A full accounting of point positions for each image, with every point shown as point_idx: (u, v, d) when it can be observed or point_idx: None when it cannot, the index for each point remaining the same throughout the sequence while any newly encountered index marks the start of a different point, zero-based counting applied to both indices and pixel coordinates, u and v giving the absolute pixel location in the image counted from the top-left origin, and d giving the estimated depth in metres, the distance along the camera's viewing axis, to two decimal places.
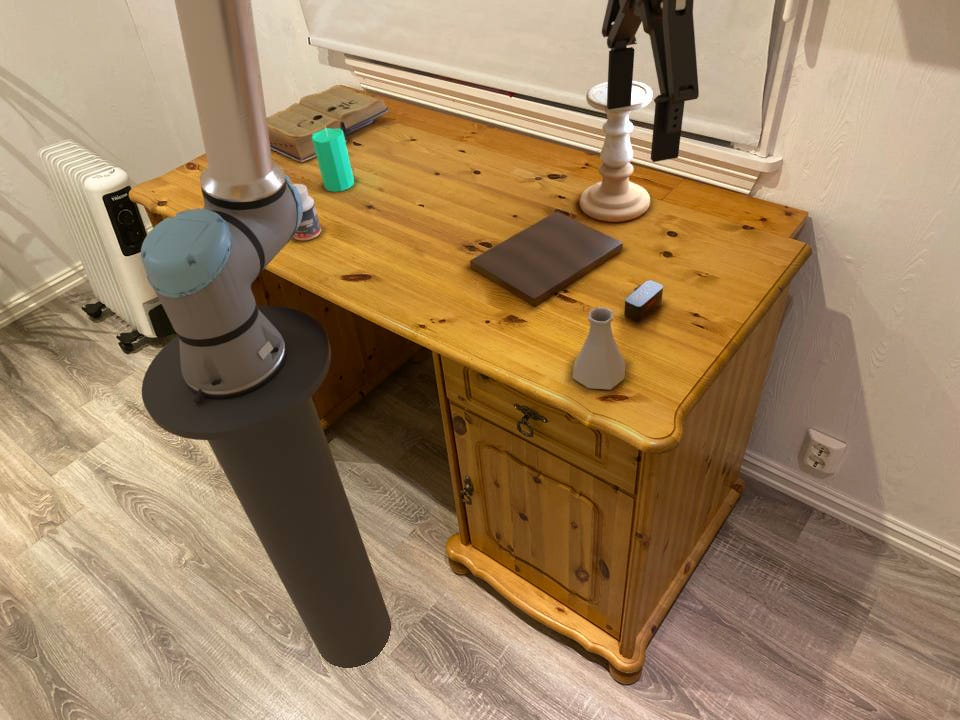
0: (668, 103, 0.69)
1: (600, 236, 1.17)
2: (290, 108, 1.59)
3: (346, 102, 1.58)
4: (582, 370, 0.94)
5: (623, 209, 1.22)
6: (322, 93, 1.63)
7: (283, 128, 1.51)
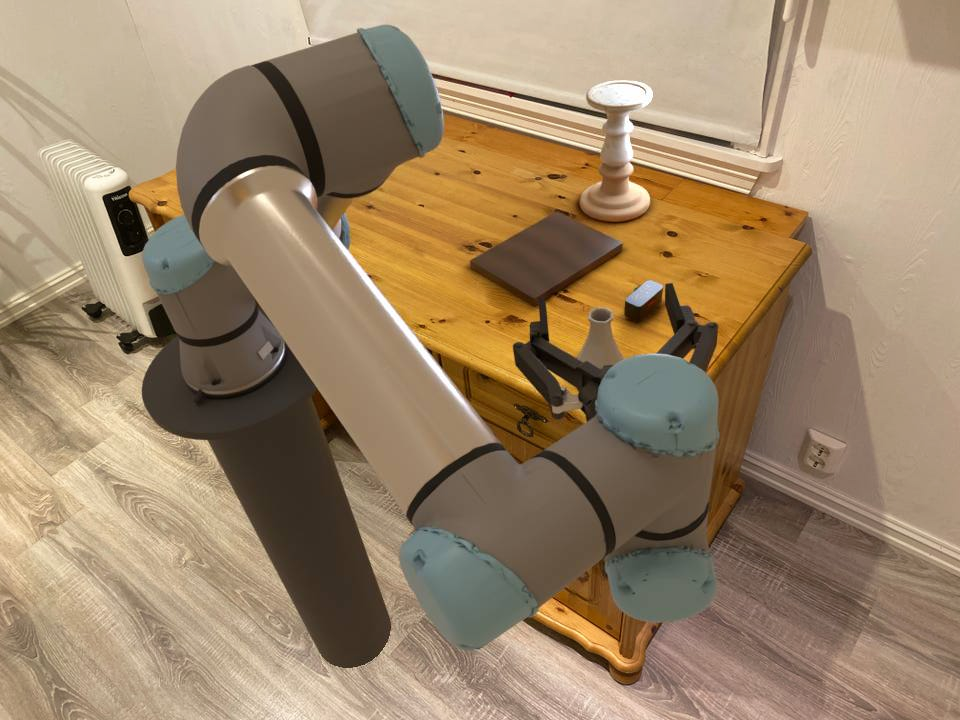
0: None
1: (600, 236, 1.17)
2: None
3: None
4: None
5: (623, 209, 1.22)
6: None
7: None
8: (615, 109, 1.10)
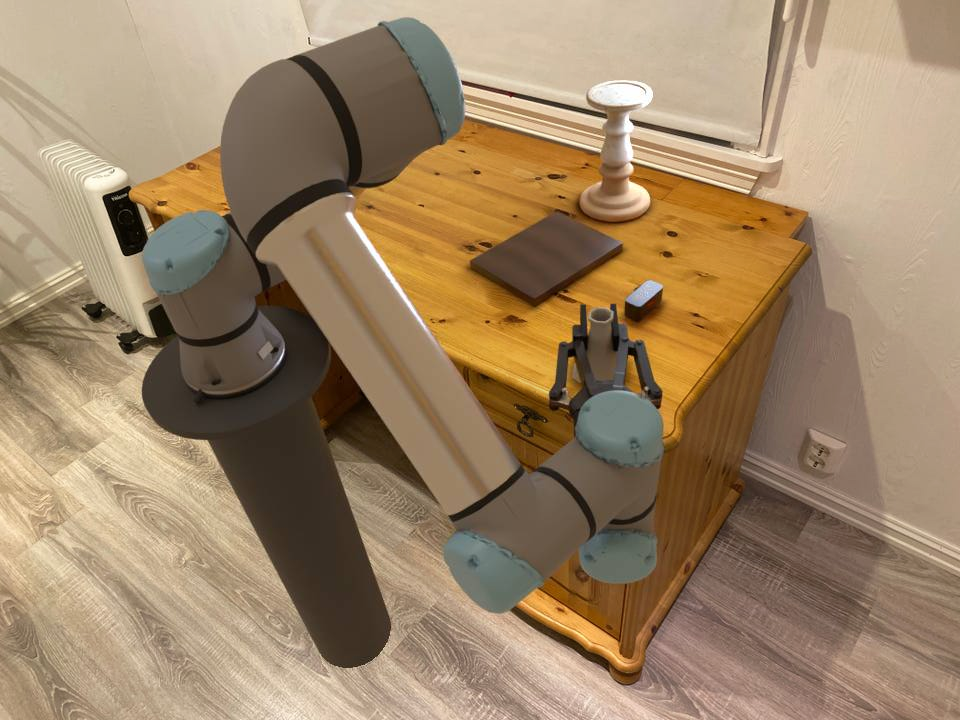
0: None
1: (600, 236, 1.17)
2: None
3: None
4: None
5: (623, 209, 1.22)
6: None
7: None
8: (615, 109, 1.10)
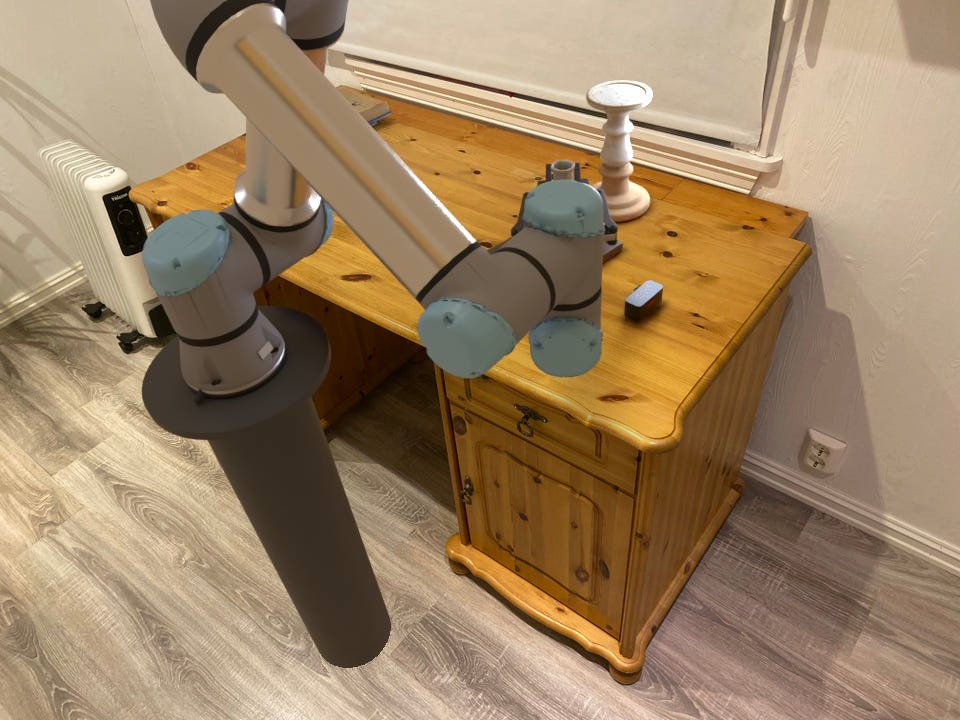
0: None
1: None
2: None
3: None
4: None
5: (623, 209, 1.22)
6: None
7: None
8: (615, 109, 1.10)
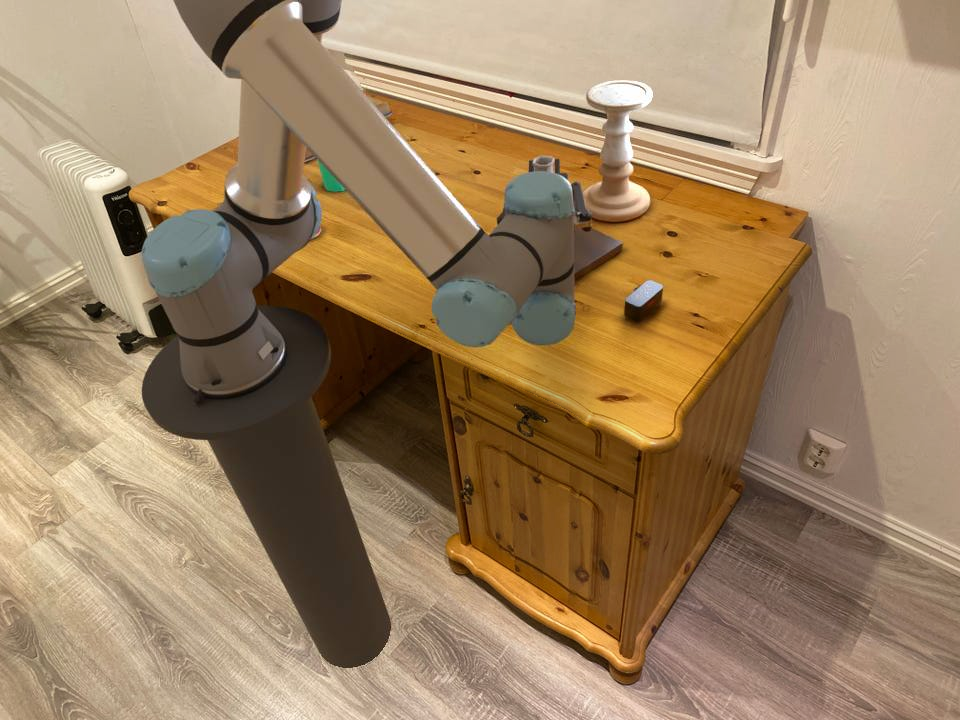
0: None
1: (600, 236, 1.17)
2: None
3: None
4: None
5: (623, 209, 1.22)
6: None
7: None
8: (615, 109, 1.10)
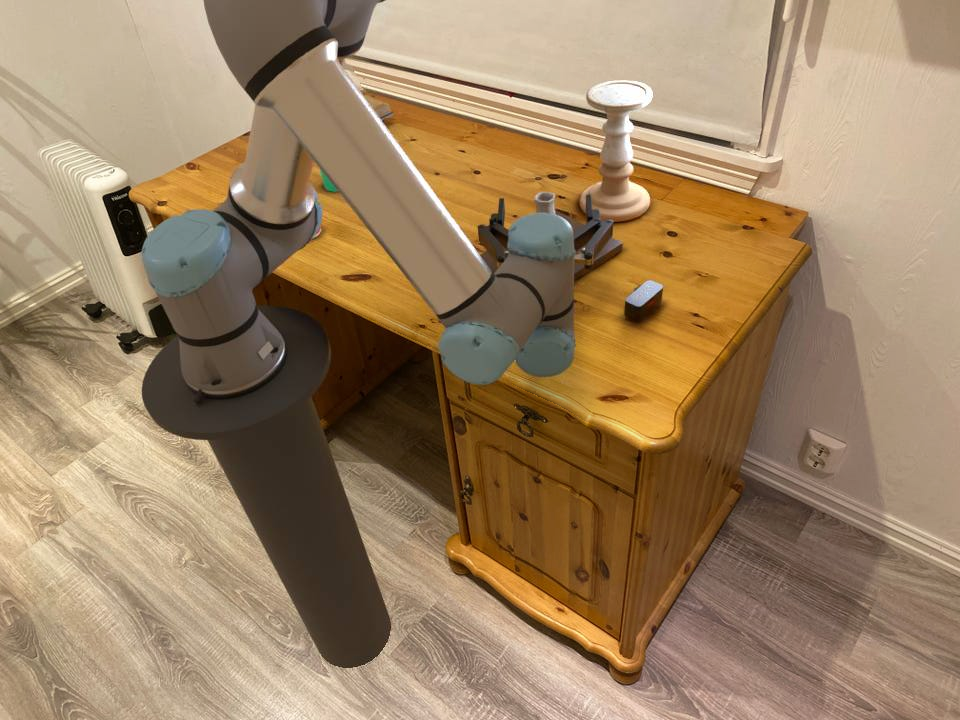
0: None
1: None
2: None
3: None
4: None
5: (623, 209, 1.22)
6: None
7: None
8: (615, 109, 1.10)
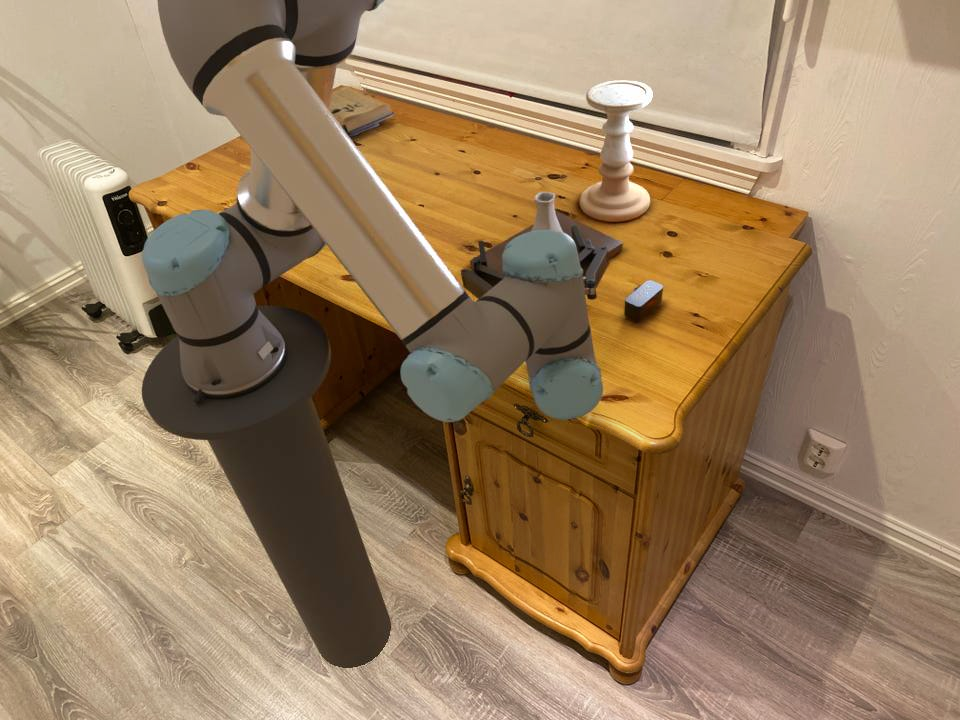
0: None
1: (600, 236, 1.17)
2: None
3: (352, 104, 1.57)
4: None
5: (623, 209, 1.22)
6: None
7: None
8: (615, 109, 1.10)
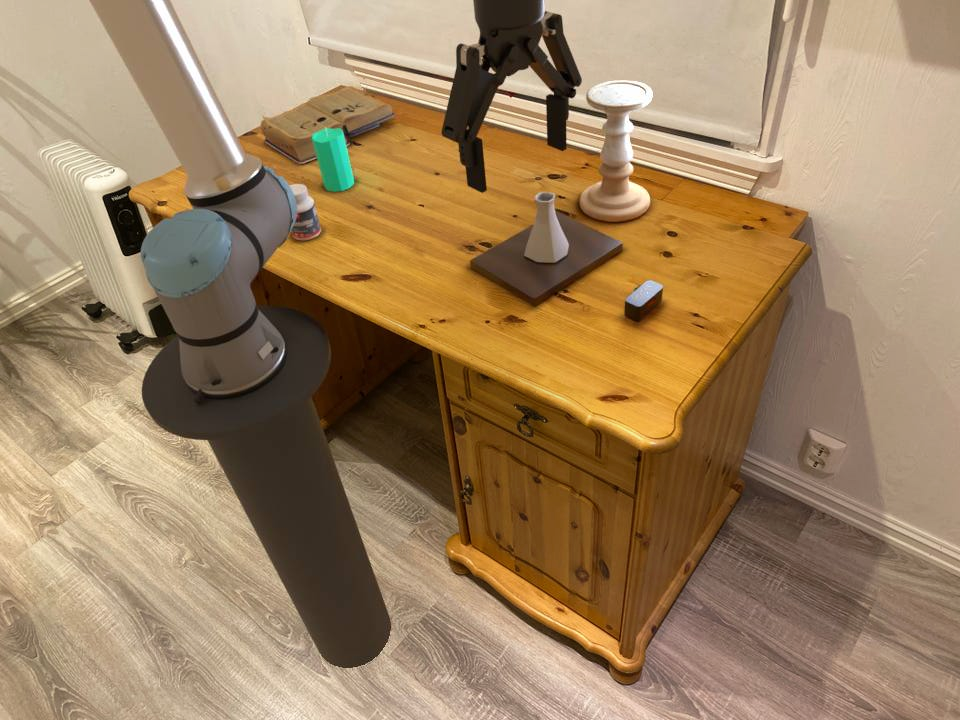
0: None
1: (600, 236, 1.17)
2: (297, 108, 1.59)
3: (352, 105, 1.57)
4: (531, 247, 1.13)
5: (623, 209, 1.22)
6: (332, 94, 1.62)
7: (286, 129, 1.51)
8: (615, 109, 1.10)
